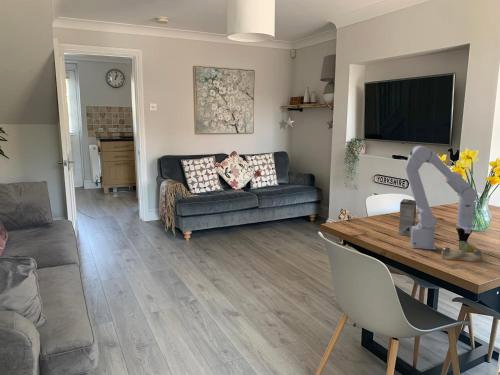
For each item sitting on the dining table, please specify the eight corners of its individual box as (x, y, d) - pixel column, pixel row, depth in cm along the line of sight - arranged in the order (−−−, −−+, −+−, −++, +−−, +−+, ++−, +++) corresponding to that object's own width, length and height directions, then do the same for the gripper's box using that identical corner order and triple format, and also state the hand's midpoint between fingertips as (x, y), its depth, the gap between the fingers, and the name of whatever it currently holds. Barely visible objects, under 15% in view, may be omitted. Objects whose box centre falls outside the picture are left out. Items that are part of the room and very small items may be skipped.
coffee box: (401, 230, 196) (403, 198, 194) (414, 231, 193) (417, 200, 190) (397, 234, 188) (399, 202, 186) (412, 236, 185) (414, 203, 183)
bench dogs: (443, 258, 155) (443, 248, 155) (442, 256, 157) (442, 246, 157) (481, 261, 151) (481, 251, 150) (479, 259, 153) (480, 250, 153)
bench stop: (442, 258, 155) (442, 252, 155) (441, 256, 158) (441, 250, 157) (481, 261, 151) (482, 255, 151) (480, 259, 153) (480, 253, 153)
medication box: (458, 249, 166) (458, 240, 165) (464, 249, 166) (465, 240, 165) (473, 259, 154) (474, 249, 153) (480, 259, 154) (481, 249, 153)
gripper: (480, 219, 156) (477, 251, 158) (471, 211, 170) (469, 241, 172) (460, 217, 158) (458, 249, 160) (454, 210, 172) (451, 239, 174)
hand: (462, 245), depth 166 cm, fingers closed
